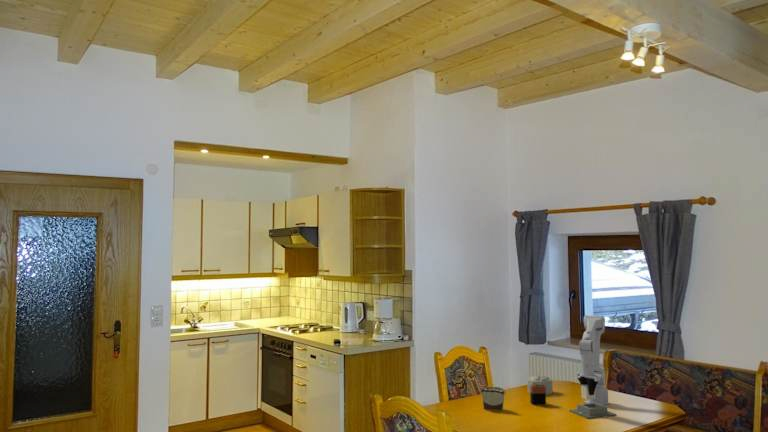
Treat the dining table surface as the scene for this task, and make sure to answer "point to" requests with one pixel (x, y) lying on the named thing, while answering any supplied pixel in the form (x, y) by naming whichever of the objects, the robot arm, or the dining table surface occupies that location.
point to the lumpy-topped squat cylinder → (543, 379)
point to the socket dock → (592, 410)
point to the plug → (586, 392)
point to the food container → (493, 398)
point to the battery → (538, 394)
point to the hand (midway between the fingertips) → (588, 393)
